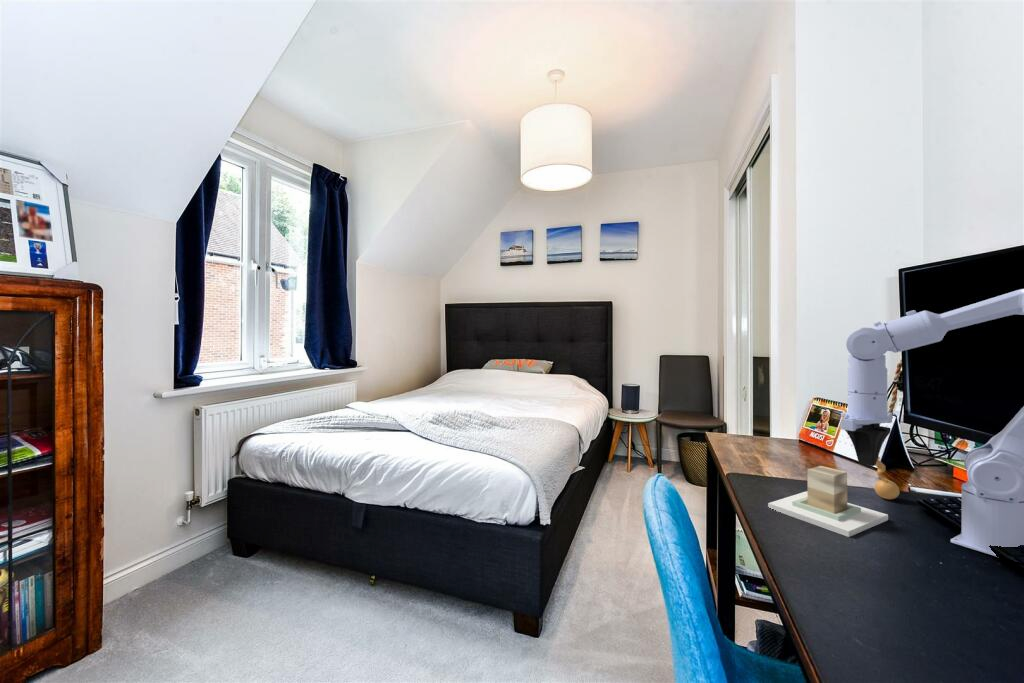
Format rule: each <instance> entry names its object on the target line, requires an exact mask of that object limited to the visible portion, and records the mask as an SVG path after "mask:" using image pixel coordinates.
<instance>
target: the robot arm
mask: <svg viewBox="0 0 1024 683" xmlns="http://www.w3.org/2000/svg"><path fill="white" fill-rule="evenodd" d="M905 314H906V316H901V317H898V318H895V319H891V320H889V321H888V320H887V321H885V322H882V323H881V321H877V322H874V323H873V327H874V328H873V327H861V328H860V329H857V330H855V331H854V332H851V333H850V334H849V336H848V337H847V339H846V343H845V344H846V349H847V351H848V353H850V354H849V355H848V359H847V360H848V367H847V411H844V412H841V413H840V416H841V417H843V418H840V430H844V431H845V432H846V434H847V436H848V437H849V438H850V441H851V442H852V446H853V449H854V452H855V455H856V458H857V461H858V464H860V465H864V466H867V467H868V466H869V467H874V466H875V465H876V462H877V459H878V456H879V455H880V452H881V449H882V447H883V445H884V442H885V440H886V439H887V437H888V436H889V435H890V433H891V429H892V428H891V427H888V426H882V425H881V424H892V423H893V412H888V368H887V366H886V363H887V362H886V359H887V358H886V356H887V355H886V353H887V352H892V353H900V352H904V351H907V350H911V349H916V348H920V347H922V346H923V347H924V346H928V345H931V344H935V343H939V342H941V341H943V339H944V336H946V334H947V332H949V331H952V330H956V329H960V328H965V327H968V326H973V325H975V324H976V325H978V324H981V323H985V322H988V321H992V320H997V319H1000V318H1004V317H1009V316H1013V315H1021V316H1024V288H1020V289H1016V290H1014V291H1010V292H1008V293H1007V292H1006V293H1004V294H1001V295H997V296H995V297H991V298H988V299H985V300H981V301H978V302H976V303H972V304H969V305H965V306H962V307H959V308H956V309H955V308H954V309H953V310H949V311H945V312H943V313H934V312H932V311H929V310H922V311H919V312H917V311H916V309H915V310H914V309H913V310H909V311H907V312H905ZM879 457H880V456H879ZM878 460H879V459H878ZM963 464H964V468H965V469H966V476H967V479H968V480H967V481H966V482H963V483H962V484H961V532H960V534H957V535H956V536H954V537H953V538H950V543H952V544H955V545H958V546H961V547H964V548H967V549H971V550H974V551H978V552H981V553H984V554H988V555H991V556H994V557H997V556H996V554H995V553H994V552H993V551H992V550H991V548H990V547H989V546H990V545H991V546H998V547H999V546H1001V547H1018V546H1020V545H1024V405H1023V407H1021V408H1020V409H1019V411H1018V412H1017V413H1016V414H1015V415H1014V417H1013V418H1011V420H1010V421H1009V422H1008V423H1007V424H1006V425H1005V426H1004V428H1002V430H1001V431H1000V432H998V433H997V434H995V435H993V436H992V437H991V438H990V439H989V440H988V441H987V442H986V443H985V444H983V445H982V446H978V447H975V448H973V449H971V450H970V451H968V452H967V453H966V454H965V457H964V459H963ZM997 558H998V557H997Z"/></svg>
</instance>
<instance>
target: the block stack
mask: <svg viewBox="0 0 1024 683" xmlns="http://www.w3.org/2000/svg"><path fill="white" fill-rule="evenodd" d="M806 471H807V491H808V505H809V506H812V507H815V508H819V509H822V510H825V511H828V512H831V513H834V514H837V513H840V512H843V511H845V510H847V503H848V471H843V470H840V469H834V468H831V467H828V466H823V465H819V466H814V467H810V468H807V470H806Z"/></svg>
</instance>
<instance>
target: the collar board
mask: <svg viewBox="0 0 1024 683" xmlns="http://www.w3.org/2000/svg"><path fill="white" fill-rule="evenodd" d="M768 507H769V508H771V509H770V510H772V509H774V510H773V511H775V510H776V512H778V513H780V512H781V514H784V515H787V516H789V517H792V518H794V519H798V520H800V521H803V522H805V523H808V524H811V525H814V526H817V527H820V528H823V529H825V530H828V531H831V532H833V533H836V534H839V535H842V536H845V537H847V538H850V537H853V536H855V535H857V534H859V533H862V532H863V531H866V530H868V529H871V528H872V527H876V526H877V525H880V524H882V523H885V522H887V521H888V520H889V514H887V513H883V512H881V511H877V510H873V509H870V508H867V507H863V506H859V505H858V504H857V505H856V504H853V503H850V502H847V510H845V511H843V512H840V513H837V514H834V513H831V512H828V511H825V510H822V509H819V508H815V507H812V506H809V505H808V490H806V491H803V492H799V493H797V494H794V495H793V494H792V495H790V496H787V497H784V498H780V499H777V500H774V501H770V502H768V503H767V508H768ZM769 508H768V509H769Z"/></svg>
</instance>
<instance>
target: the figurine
mask: <svg viewBox="0 0 1024 683" xmlns="http://www.w3.org/2000/svg"><path fill="white" fill-rule="evenodd" d="M875 466H876V468H877V473H876V474H877V476H878V478H880V480H877V481H876V482H875V484H874V485H873V487H874V491H875V493H876V494H877V495H878V497H880V498H882V499H885V500H895V499H896V498H898V496H899V495H900V488H899V486H898V485H897V484H896V483H895V482H894V481H892V480H889V478H887V477H885V476H884V475H882V474H883V473H884V472H886V465H885V464H884V463H883V462H882V461H881V457H880V456H878V459H877V462H876V465H875Z"/></svg>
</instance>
